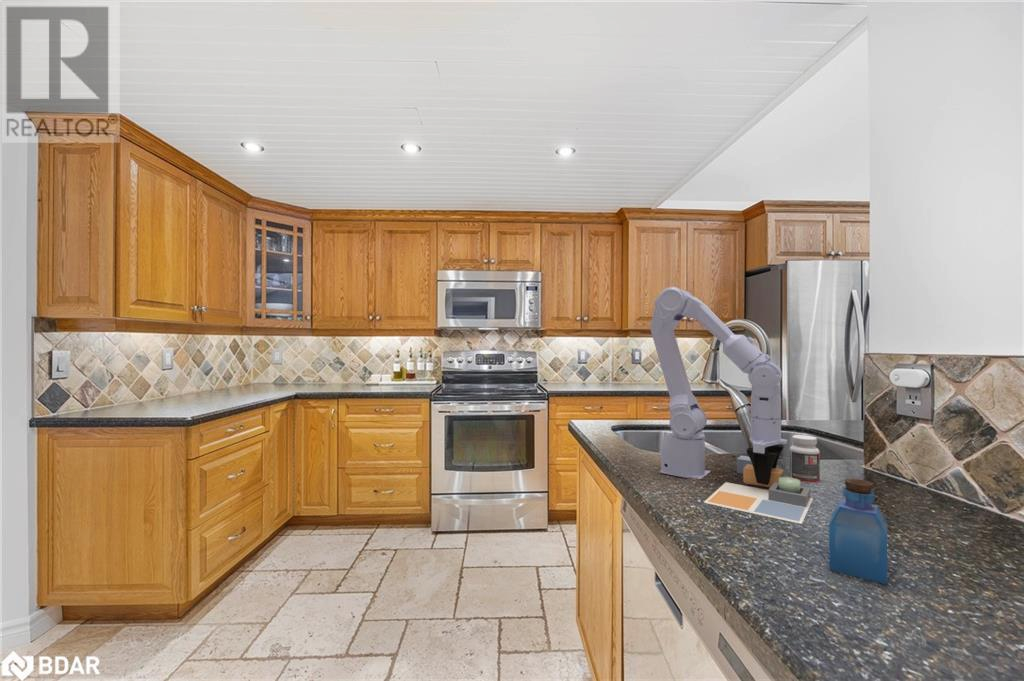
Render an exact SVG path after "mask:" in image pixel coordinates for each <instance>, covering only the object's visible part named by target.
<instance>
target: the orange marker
mask: <svg viewBox="0 0 1024 681" xmlns="http://www.w3.org/2000/svg"><path fill="white" fill-rule="evenodd" d="M742 475H743V476H742V477H743V482H742V483H743V484H747V485H754V486H758V487H765V488H768V489H769V488H770V487H771V486H772V484H773V483H774V482H777V483H779V478H780V477H790V478H791V476H790V475H784V469H782V468H781V469H776V468H772V470H771V477H770V481H769V484H768V485H766V484H760V483H757V481H756V477H755V472H754V468H753V465H750V464H747V465H746V466H745V467H744V468H743V474H742Z"/></svg>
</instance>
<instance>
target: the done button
mask: <svg viewBox="0 0 1024 681" xmlns="http://www.w3.org/2000/svg"><path fill="white" fill-rule="evenodd" d="M800 486H801V481H800V480H798V479H795V478H790V477H780V478H779V489H780V490H781V491H786V492H792V493H800Z"/></svg>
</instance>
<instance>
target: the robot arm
mask: <svg viewBox="0 0 1024 681" xmlns="http://www.w3.org/2000/svg"><path fill="white" fill-rule="evenodd" d="M653 303H654V304H653V306H654V310H653V313H652V318H651V321H650V326H649V327H650V328H649V330H650V332H651V335H652V336H651V337H652V339H653V343H654V347H655V349H656V350H655V351H656V353H657V357H658V360H659V363H660V367H661V371H662V374H663V378H664V382H665V384H666V388H667V392H668V394H669V404H668V405H669V406H668V409H669V414H670V416H669V428H670V430H671V431H672V432H671V433H665V434H663V436H662V439H661V443H660V444H661V445H660V470H659V473H660V474H664V475H668V476H669V475H670V476H675V477H679V478H684V479H685V478H686V479H689V478H692V479H693V478H694V479H700V480H701V479H703V478H704V477H705V476H707V475H708V474H710V472H711V470H707V469H706V461H705V460H706V450H705V449H706V435H705V434H704V431H703V429H704V428H705V426H706V425H707V423H708V418H707V415H706V413H705V411H704V409H702V408H701V406H700V405H699V401H698V399H697V398H696V396H695V394H693V391H692V387H691V385H690V382H689V378H688V375H687V371H686V368H685V364H684V361H683V358H682V355H681V351H680V347H679V345H678V341H677V337H676V335H675V329H676V328H677V327H678V325H679V323H680V322H681V320H682V319H684V318H685V317H687V318H690V319H694V320H696V321H698V323H699V324H701V325H702V326H703V327H704V328H705V329H706V330H707V331H708V332H709V333H711V334H712V336H714V337H715V338H716V339H717V340H718V341H719V342H720V343H722V353H724V355H725V356H726V357H728V359H729V360H730V361H731V362H732V363H733V364H734V365H735V366H736V367H737V368H738V369H739V370H741V371H742V373H743V374H747V379H748V381H749V383H750V385H751V395H750V436H749V441H750V442H751V443H752V447H748V448H746V454H747V456H748V457H749V458H750V460H751V462H752V465H753V468H754V472H755V477H756V481H757V483H760V484H766V485H768V484H769V481H770V477H771V470H772V468H776V466H778V461H779V458H780V455H781V453H782V452H783V450H784V448H785V446H784V445H786V444H788V439H786V438H782V396H781V392H782V391H781V386H780V384H779V383H780V382H781V380H782V378H783V372H782V369H781V368H780V366H779V365H778V363H777V362H775V361H772V360H770V359H771V356H770V355H769V354H764V353H763V352H762V351H761V350H760V349H759V347H757V346H756V345H755V344H754V342H755V340H754V339H753V338H752V337H751V336H748V337H747V336H746V335H745V334H735V333H734V332H733V331H732V330H730V328H729V327H728V326H727V325H726V324H725V323H724V322H723V321H722V320H721V318H719V317H718V316H717V315H716V314H715V313H714V312H713V310H711V309H710V308H709V307H708V305H706V303H704V302H703V301H702V300H700V299H699V298H697V297H696V296H694V294H692V293H691V292H690V291H688V290H685V289H684V290H683V289H681V288H679V287H676V286H668V287H666V288H664V289H662V290H661V292H660V293H659V294H658V296H657V297H656V299H655V300H654V302H653Z"/></svg>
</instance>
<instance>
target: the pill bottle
mask: <svg viewBox="0 0 1024 681" xmlns="http://www.w3.org/2000/svg"><path fill="white" fill-rule="evenodd" d="M791 440H792V443H793V444H792V445H791V446H790V447H789V476H791V478H795V479H798V480H800V483H801V482H802V483H808V484H809V483H819V482H820V480H821V472H820V471H821V470H820V469H821V464H820V463H821V462H820V461H821V459H820V458H821V455H820V454H821V453H820V452H821V451H820V449H819V448H818V447H817V446H816V445H817V444H818V438H817V437H815V436H812V435H804V434H794V435H792V438H791Z"/></svg>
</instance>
